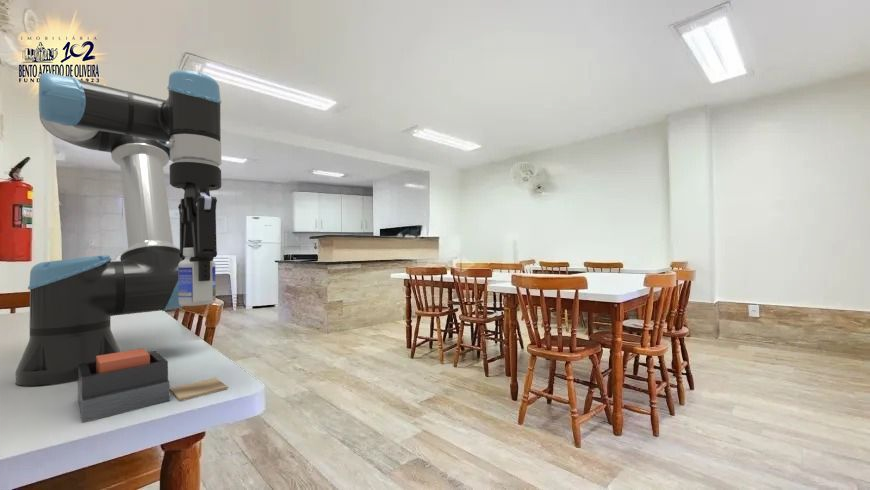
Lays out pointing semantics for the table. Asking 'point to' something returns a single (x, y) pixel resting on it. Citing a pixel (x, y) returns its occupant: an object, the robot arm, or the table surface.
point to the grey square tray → (122, 388)
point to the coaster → (197, 389)
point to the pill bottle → (190, 281)
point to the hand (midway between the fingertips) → (197, 299)
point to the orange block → (122, 360)
